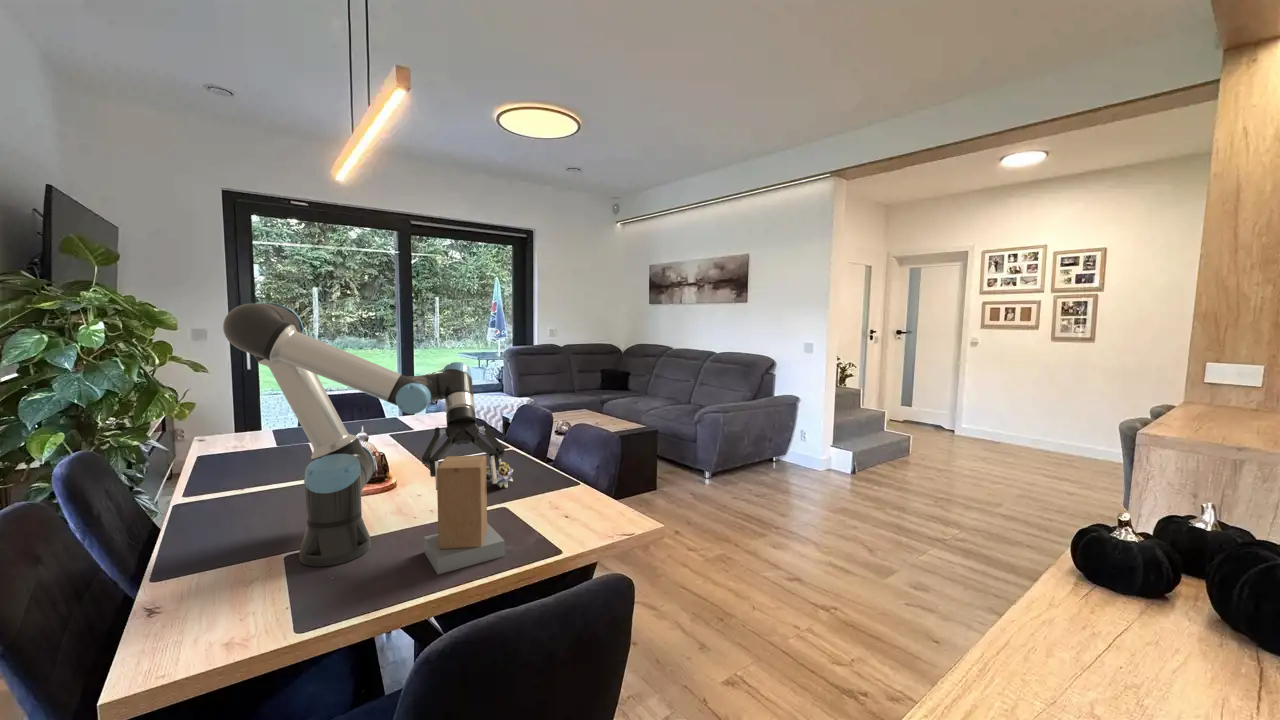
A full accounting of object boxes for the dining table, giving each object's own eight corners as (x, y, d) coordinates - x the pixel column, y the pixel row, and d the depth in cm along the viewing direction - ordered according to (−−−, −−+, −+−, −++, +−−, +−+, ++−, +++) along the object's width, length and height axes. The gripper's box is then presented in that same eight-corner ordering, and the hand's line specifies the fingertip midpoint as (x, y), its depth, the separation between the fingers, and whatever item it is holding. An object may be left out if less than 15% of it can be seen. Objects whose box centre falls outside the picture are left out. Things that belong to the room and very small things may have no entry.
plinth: (437, 574, 116) (437, 558, 116) (424, 552, 127) (423, 536, 126) (504, 556, 126) (504, 540, 125) (487, 536, 136) (486, 522, 136)
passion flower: (505, 502, 174) (499, 482, 166) (477, 494, 176) (470, 473, 168) (520, 477, 182) (516, 456, 174) (493, 468, 184) (488, 448, 176)
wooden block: (481, 547, 121) (480, 466, 119) (437, 550, 120) (436, 468, 118) (487, 529, 131) (486, 454, 129) (447, 531, 129) (445, 455, 127)
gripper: (505, 417, 146) (515, 484, 134) (410, 423, 135) (412, 497, 124) (508, 402, 140) (519, 471, 129) (410, 407, 130) (412, 483, 118)
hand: (466, 484), depth 126 cm, fingers open, 13 cm apart
